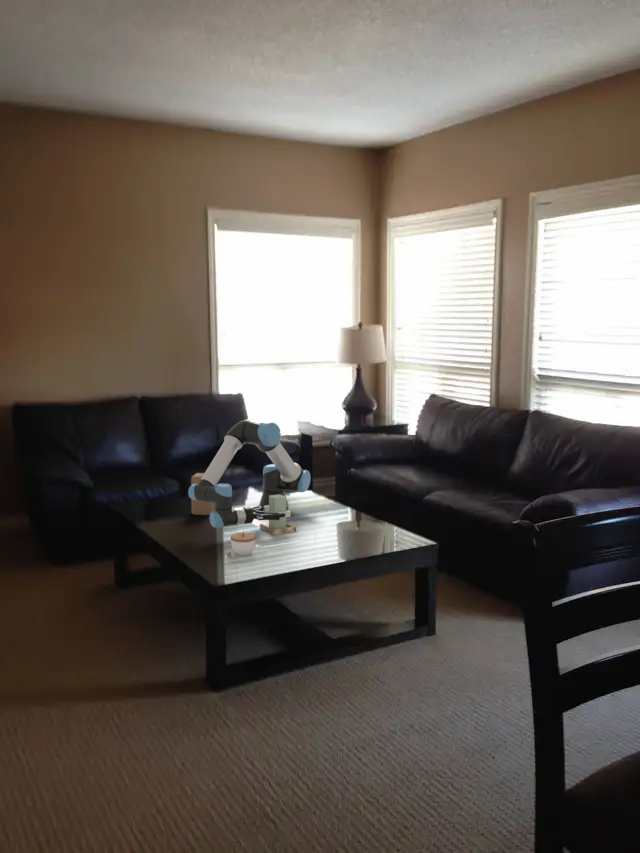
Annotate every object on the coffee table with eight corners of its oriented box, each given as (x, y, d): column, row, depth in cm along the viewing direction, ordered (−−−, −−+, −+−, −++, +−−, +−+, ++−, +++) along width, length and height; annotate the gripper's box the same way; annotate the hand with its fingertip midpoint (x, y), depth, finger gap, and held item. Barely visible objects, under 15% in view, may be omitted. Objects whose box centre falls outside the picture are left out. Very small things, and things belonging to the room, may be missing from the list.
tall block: (279, 526, 359) (280, 494, 357) (285, 529, 354) (286, 497, 352) (268, 528, 356) (269, 495, 354) (274, 531, 351) (275, 498, 349)
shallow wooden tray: (282, 525, 363) (282, 520, 363) (296, 532, 352) (296, 527, 352) (259, 529, 357) (259, 523, 356) (273, 536, 346) (273, 530, 345)
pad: (267, 518, 376) (267, 517, 376) (279, 524, 366) (279, 523, 366) (246, 521, 369) (246, 520, 369) (257, 527, 359) (257, 526, 359)
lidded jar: (260, 553, 319) (261, 532, 318) (241, 559, 311) (242, 537, 310) (244, 548, 326) (244, 527, 325) (225, 553, 319) (225, 532, 317)
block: (214, 511, 388) (215, 473, 385) (210, 515, 378) (210, 477, 376) (196, 510, 389) (196, 472, 386) (190, 515, 379) (190, 476, 377)
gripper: (231, 517, 355) (270, 512, 366) (255, 530, 334) (296, 524, 345) (231, 502, 354) (270, 497, 365) (255, 514, 333) (296, 508, 344)
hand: (283, 510), depth 355 cm, fingers open, 13 cm apart
